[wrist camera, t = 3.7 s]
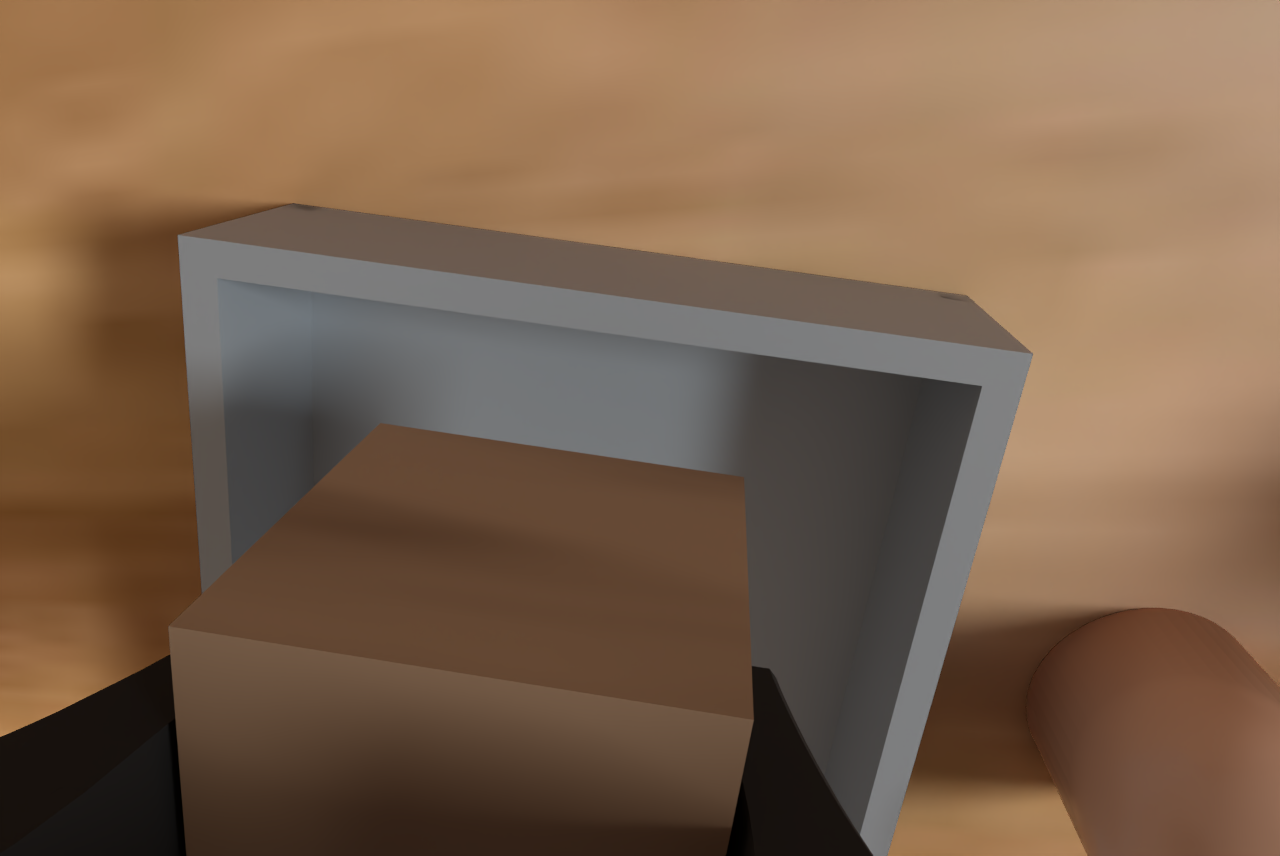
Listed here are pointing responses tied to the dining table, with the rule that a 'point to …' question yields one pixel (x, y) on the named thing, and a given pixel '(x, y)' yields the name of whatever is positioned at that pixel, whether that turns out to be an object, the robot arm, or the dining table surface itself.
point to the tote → (634, 423)
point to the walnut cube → (473, 661)
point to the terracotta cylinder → (1160, 737)
